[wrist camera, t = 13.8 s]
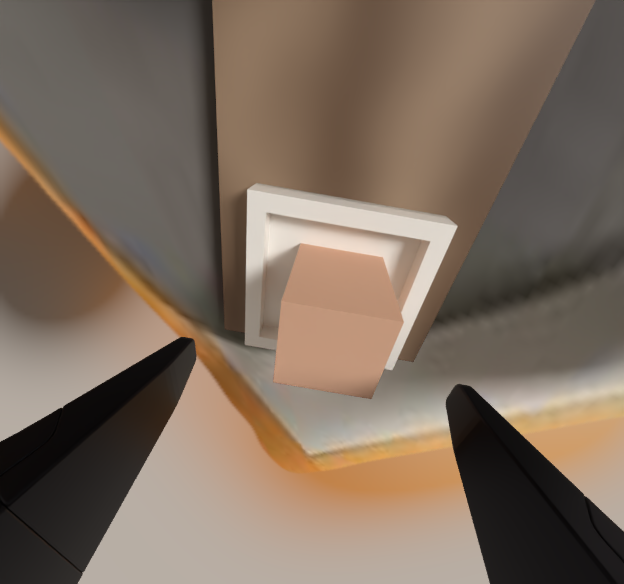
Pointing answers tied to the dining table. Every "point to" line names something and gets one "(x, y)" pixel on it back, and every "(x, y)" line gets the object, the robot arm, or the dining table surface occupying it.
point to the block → (336, 322)
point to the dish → (337, 235)
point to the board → (380, 110)
